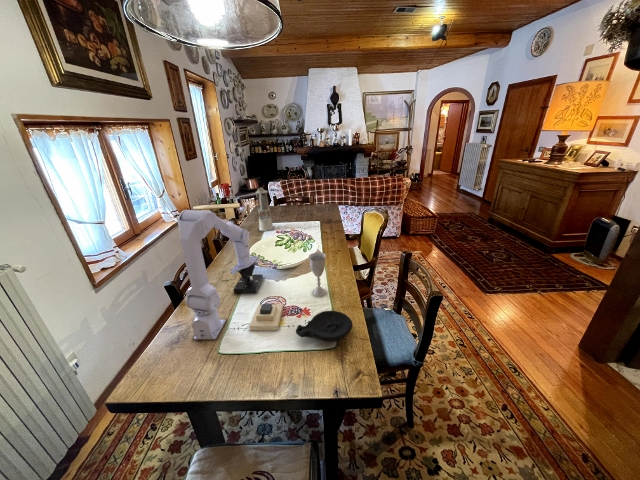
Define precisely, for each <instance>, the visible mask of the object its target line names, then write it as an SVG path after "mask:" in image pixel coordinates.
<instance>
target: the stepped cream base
mask: <svg viewBox="0 0 640 480" xmlns="http://www.w3.org/2000/svg"><path fill="white" fill-rule="evenodd" d="M271 304H272V303H271ZM261 306H262V304H258V305H257V306H256V309H255V311H254V315H253V317H252V319H251V320H250V321H251V322H250V324H249V330H250V331H278V330H279V326H280V323H281V318H282V315H283V311H284V304H282V303H281V304H280V303H279V304H274V303H273V304H272V310H271V313H270V314H261V313H260V309H261Z"/></svg>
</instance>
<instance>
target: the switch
mask: <svg viewBox="0 0 640 480" xmlns="http://www.w3.org/2000/svg"><path fill="white" fill-rule="evenodd" d="M261 305H262V306H261V309H260V313H261V314H270V313H271V310H272V303H262V304H261Z"/></svg>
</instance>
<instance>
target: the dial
mask: <svg viewBox="0 0 640 480" xmlns="http://www.w3.org/2000/svg"><path fill="white" fill-rule="evenodd" d="M248 279H249V282H248V283H253V278H252V275H249V274H248Z"/></svg>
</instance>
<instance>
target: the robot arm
mask: <svg viewBox="0 0 640 480" xmlns="http://www.w3.org/2000/svg"><path fill="white" fill-rule="evenodd" d="M176 221H177V225H178V230H179V242H180V247H181V251H182V255H183V258H184V263H185V267H186V271H187V275H188V279H189V284H190V287H189V288H188V289H187V290H186V291H185V294H186V301H185V303H186V307H187V308H188V309H191V310H192V312H193V313H194V319H193V321H192V323H191V328H192V331H193V333H194V337H193V339H194V340H216V339H217V337H218V336H219V333H220V332H221V331H222V328H223V327H224V325H225V323H226V319H221V318H220V314H219V310H218V308H219V306H220V303H221V296H220V295H219V293H218V291H217V289H216V288H215V287H214V286H213V285H212V284H211V283H210V281H209V276H208V273H207V268H206V263H205V259H204V254H203V249H202V245H201V240H202V239H204V238H205V237H206V236H207V235H208V234H209V233H210V232H211V231H212V229H214V228H215V229H217V230H219V231H220V233H221V235H223V236H225V237H227V238H229V240H230V242H233V245H234V250H235V255H236V260H237V264H236V265H234V266H233V267H232V268H231V269H229V271H230V274H231V275H233V276H235V275H236V274H237V273H239V275H240V277H241V276H242V277H243V279H244V281H245V282H249V279H248V274H249V275H254V270H255V268H256V265H255V264H254V263H255V262H259V260H260V258H259V256H257V255H254V256H252V257H251V251H250V247H249V244H250V232H249V230H247V229H246V228H241V227H240V225H237V224H235V223H234V221H232V220H228V221H225V220H223V219H222V218H220V217H219V216H218V215H217V214H216V212H213V211H211V210H198V209H197V210H195V209H183V210H182V211H181V212H180V213H179V215H178V217H177V219H176Z"/></svg>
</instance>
